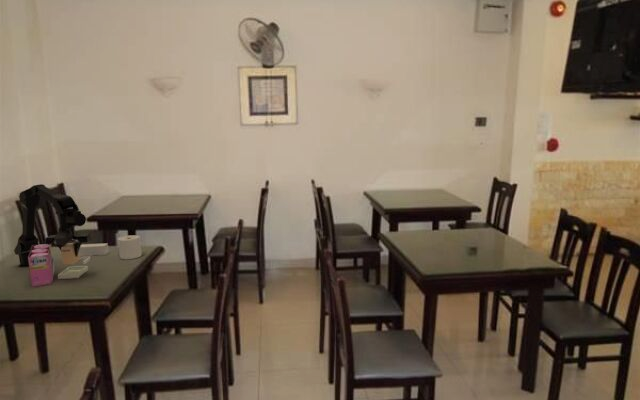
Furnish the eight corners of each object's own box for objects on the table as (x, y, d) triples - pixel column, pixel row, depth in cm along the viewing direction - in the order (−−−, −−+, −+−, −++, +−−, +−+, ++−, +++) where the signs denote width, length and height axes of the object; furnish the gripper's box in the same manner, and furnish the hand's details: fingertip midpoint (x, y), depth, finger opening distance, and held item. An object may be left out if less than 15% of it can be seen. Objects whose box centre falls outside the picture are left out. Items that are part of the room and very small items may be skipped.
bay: (60, 265, 228) (59, 256, 227) (78, 253, 247) (76, 244, 246) (94, 264, 229) (93, 254, 228) (108, 252, 248) (107, 243, 247)
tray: (58, 279, 209) (57, 274, 209) (69, 270, 220) (68, 266, 220) (78, 278, 210) (77, 273, 210) (88, 269, 221) (87, 265, 221)
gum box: (36, 270, 222) (32, 243, 219) (55, 268, 225) (51, 241, 223) (31, 287, 201) (27, 257, 198) (52, 283, 204) (48, 254, 202)
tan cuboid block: (62, 264, 210) (60, 248, 208) (70, 259, 217) (68, 243, 216) (72, 264, 210) (70, 247, 208) (80, 259, 218) (77, 242, 216)
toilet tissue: (137, 259, 235) (135, 240, 233) (113, 260, 235) (111, 241, 233) (145, 253, 245) (143, 234, 243) (122, 253, 245) (120, 235, 243)
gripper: (36, 229, 202) (41, 263, 205) (80, 227, 203) (84, 261, 206) (48, 223, 213) (53, 255, 216) (90, 221, 214) (94, 253, 217)
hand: (71, 256), depth 213 cm, fingers closed on tan cuboid block, 4 cm apart
